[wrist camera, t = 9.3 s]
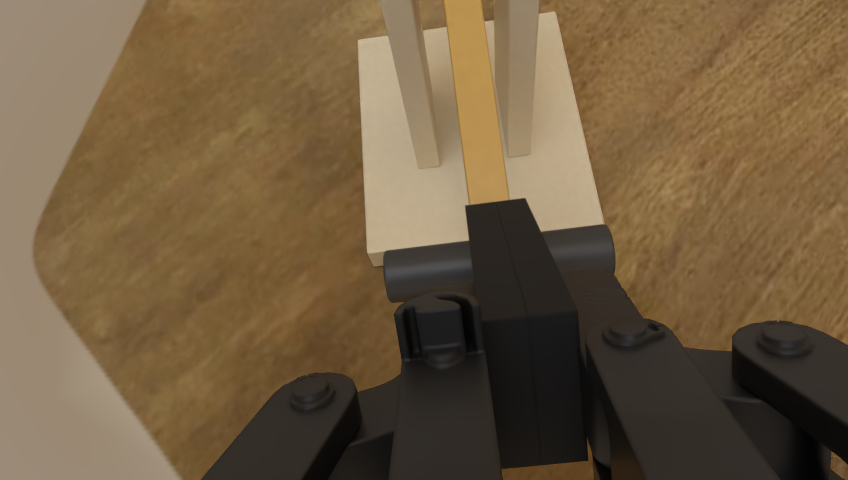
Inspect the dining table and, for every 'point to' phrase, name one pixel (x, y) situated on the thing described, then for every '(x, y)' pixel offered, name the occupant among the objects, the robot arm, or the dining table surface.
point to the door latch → (440, 136)
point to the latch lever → (481, 174)
